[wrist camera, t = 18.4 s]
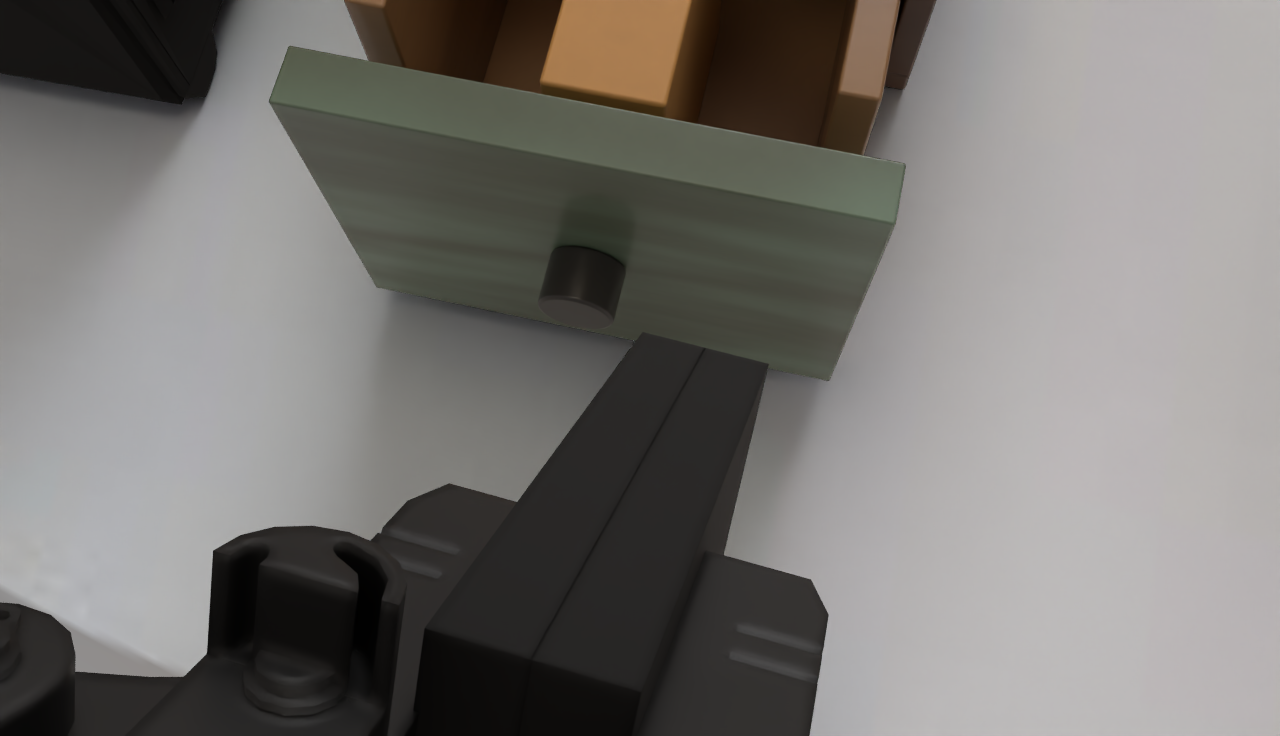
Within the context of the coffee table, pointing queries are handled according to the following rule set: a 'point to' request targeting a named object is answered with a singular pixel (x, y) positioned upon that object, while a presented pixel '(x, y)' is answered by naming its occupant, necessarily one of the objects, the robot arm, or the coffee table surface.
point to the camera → (113, 45)
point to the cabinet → (907, 40)
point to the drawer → (611, 174)
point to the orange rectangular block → (633, 54)
